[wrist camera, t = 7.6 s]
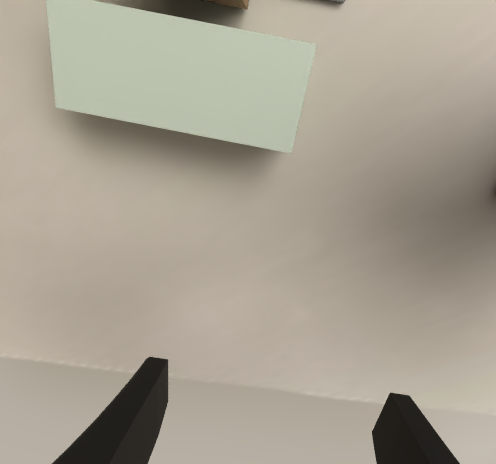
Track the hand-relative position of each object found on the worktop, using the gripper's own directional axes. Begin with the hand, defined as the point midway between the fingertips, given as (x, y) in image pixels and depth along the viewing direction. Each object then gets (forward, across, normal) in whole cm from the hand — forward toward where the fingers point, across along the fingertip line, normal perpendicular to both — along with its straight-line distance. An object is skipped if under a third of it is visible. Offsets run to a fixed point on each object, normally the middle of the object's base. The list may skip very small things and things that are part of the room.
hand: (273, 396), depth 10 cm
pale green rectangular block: (+10, +5, -9) cm, 14 cm away
